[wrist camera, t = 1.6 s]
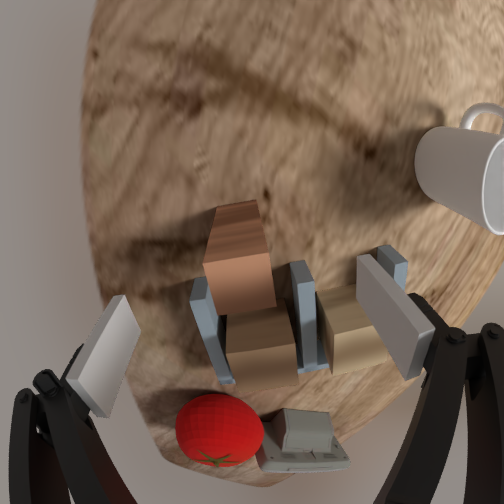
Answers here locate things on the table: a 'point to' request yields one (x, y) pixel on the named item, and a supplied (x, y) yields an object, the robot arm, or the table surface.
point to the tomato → (218, 430)
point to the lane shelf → (305, 314)
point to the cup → (465, 169)
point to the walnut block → (249, 300)
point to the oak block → (347, 331)
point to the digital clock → (300, 444)
